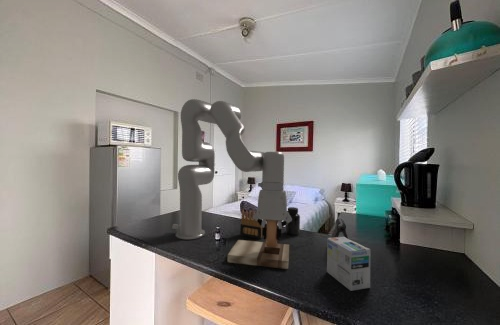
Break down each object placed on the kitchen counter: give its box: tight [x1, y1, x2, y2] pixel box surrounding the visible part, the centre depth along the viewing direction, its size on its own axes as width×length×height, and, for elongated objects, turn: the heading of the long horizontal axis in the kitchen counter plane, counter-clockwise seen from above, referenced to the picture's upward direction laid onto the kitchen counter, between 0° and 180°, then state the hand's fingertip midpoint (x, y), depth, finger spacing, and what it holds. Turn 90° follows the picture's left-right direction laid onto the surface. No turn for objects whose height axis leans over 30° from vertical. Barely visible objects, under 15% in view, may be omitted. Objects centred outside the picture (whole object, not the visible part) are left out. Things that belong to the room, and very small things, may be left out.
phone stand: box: [330, 218, 349, 239], centre depth 83 cm, size 9×6×12 cm, turn 73°
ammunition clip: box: [239, 208, 264, 240], centre depth 98 cm, size 11×2×12 cm, turn 63°
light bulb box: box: [326, 236, 371, 292], centre depth 64 cm, size 11×7×11 cm, turn 17°
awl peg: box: [265, 220, 278, 247], centre depth 77 cm, size 4×4×10 cm
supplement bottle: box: [284, 206, 301, 237], centre depth 103 cm, size 7×7×12 cm
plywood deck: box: [227, 239, 290, 270], centre depth 78 cm, size 20×14×2 cm
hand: (271, 237), depth 77 cm, fingers closed on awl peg, 4 cm apart
